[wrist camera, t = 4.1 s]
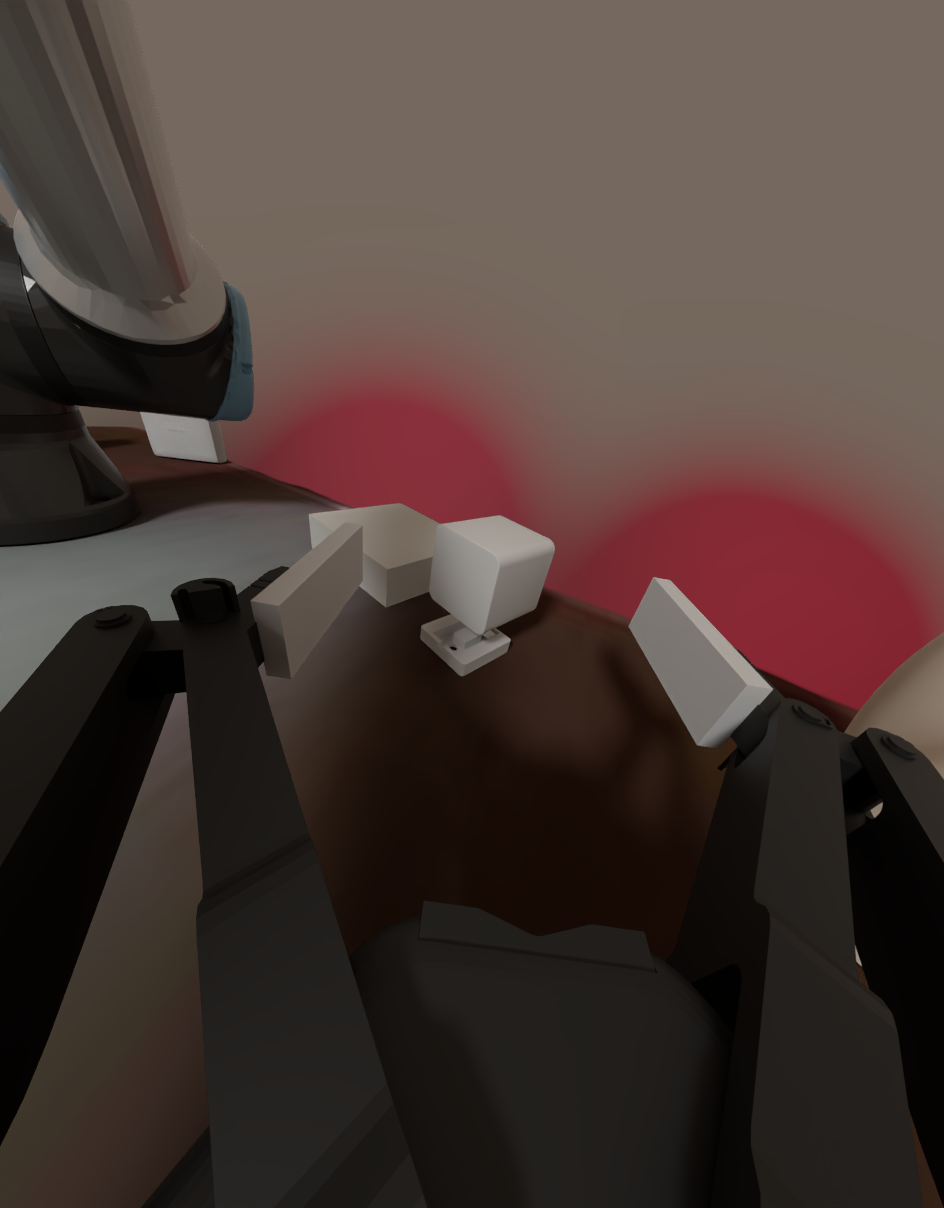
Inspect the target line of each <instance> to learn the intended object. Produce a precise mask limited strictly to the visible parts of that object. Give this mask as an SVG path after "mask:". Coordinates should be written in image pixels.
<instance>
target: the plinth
mask: <svg viewBox="0 0 944 1208" xmlns="http://www.w3.org/2000/svg"><path fill="white" fill-rule="evenodd" d="M309 521H310V532H311V542H312V549H313V548H315V547H316V546H317V545H318V544H319V543H321V542H322V541H323V540H324V539H325V538H327V537H328V536H329V535H330V534H331V533H333V532H334V531H335V530H336V529H338V528H339V527H340V526H341V525H342V524H344V523H345V522H347V523H352V524H358V525H363V581H362V583H361V584H360V585H359V586H360V587H361V588H362V589H363V590H365V591H366V592H367V593H368V594H370V595H371V596H372V597H373V598H375V599H376V600H377V601H378V602H380V603H381V604H382V605H383V606H385V607H389V606H392V605H395V604H397V603H400V602H403V601H405V600H408V599H411V598H414V597H416V596H419V595H422V594H424V593H427V592H429V586H430V577H431V568H432V560H433V551H434V543H435V534H436V528H437V527H438V525H440V523H438V522H436V521H434V520H432V519H430V518H428V517H426V516H424V515H423V514H421V513H419V512H416V511H415V510H413V509H411V508H409V507H407V506H405V505H403V504H401V503H396V504H388V505H379V506H371V507H364V508H355V509H347V510H338V511H330V512H322V513H314V514H309Z"/></svg>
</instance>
